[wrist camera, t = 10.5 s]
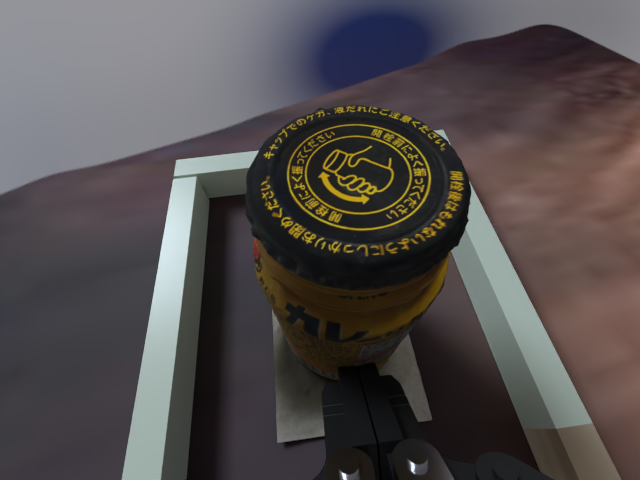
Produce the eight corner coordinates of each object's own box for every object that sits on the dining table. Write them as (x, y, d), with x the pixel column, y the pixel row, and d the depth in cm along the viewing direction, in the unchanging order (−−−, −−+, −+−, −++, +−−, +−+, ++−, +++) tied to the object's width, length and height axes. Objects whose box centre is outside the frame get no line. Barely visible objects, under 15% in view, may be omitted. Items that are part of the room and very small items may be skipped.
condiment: (388, 262, 19) (453, 69, 9) (431, 420, 15) (667, 402, 4) (271, 277, 19) (196, 97, 8) (278, 442, 14) (141, 481, 4)
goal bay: (152, 484, 14) (119, 494, 11) (191, 184, 23) (176, 160, 21) (553, 423, 14) (592, 423, 12) (433, 156, 24) (443, 129, 21)
